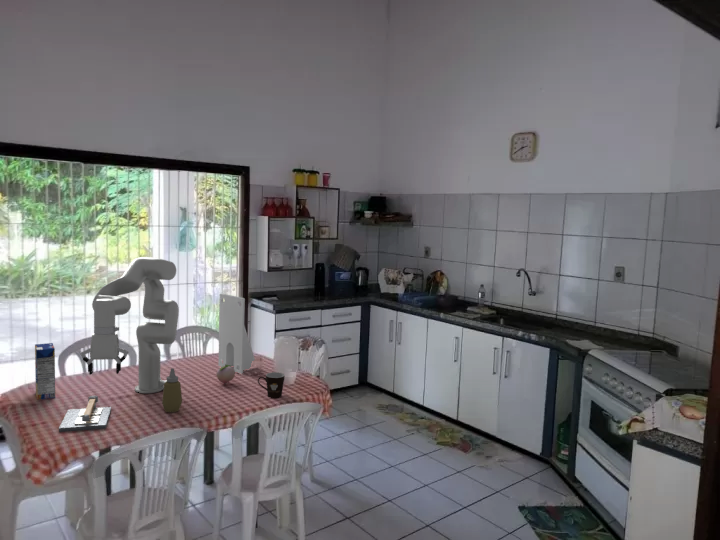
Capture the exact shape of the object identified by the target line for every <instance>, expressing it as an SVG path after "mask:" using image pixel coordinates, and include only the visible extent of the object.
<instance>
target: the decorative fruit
mask: <svg viewBox="0 0 720 540" xmlns="http://www.w3.org/2000/svg"><path fill="white" fill-rule="evenodd" d="M235 375H236V373H235V371H234V367H231V366H230V365H226V364H225V366H223V367H221V368H220V367H219V368H218V369H217V371H216V378H217V379H218V381H219V382H220V383H221V384H224V385H226V384H227V383H230V382H231V381H232V380H234V378H235ZM225 383H226V384H225Z"/></svg>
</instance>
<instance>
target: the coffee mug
mask: <svg viewBox="0 0 720 540" xmlns="http://www.w3.org/2000/svg"><path fill="white" fill-rule="evenodd" d="M285 375H286V374H285V373H282V372H277V371H276V372H275V371H273V372H268V373H266V374H265V377H264V376H261V377H258V378H257V383H258V385H259V386H260V387H262V388H263V389H264V390H266V391H267V392H266V393H267V397H268V398H269V397H271V398H270V399H280V398H282V394H283V388H284V381H285ZM260 379H263V380H264V381H265V382H266V387H265V386H263V385H262V384H261V383H260ZM279 397H280V398H279Z"/></svg>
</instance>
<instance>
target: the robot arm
mask: <svg viewBox="0 0 720 540" xmlns="http://www.w3.org/2000/svg"><path fill="white" fill-rule="evenodd" d="M176 274H177V267H176V264H175V263H174V262H173V261H170V260H166V259H163V258H157V257H142V256H141V257H137V258H134V259H133V260H132V261H131V262H130V265H129V266H128V267H127V269H126V270H125V271H124V273H123V274H122V276H121V277H118V278H116V279H114V280H112V281H110V282H108V283H107V284H105V285H103V286H102V287H101V288H100V289H99V290H98V291H97V293H96V295H95V296H94V297H93V300H92V304H91V306H92V311H93V333H92V335H91V339H90V346H89V348H87V349H85V350H83V351H81V352H80V353H79V355H80V357H81V358H82V361H83V362H85V363H86V364H87V372H88V373H89V375H92V374H93V372H94V360H95V361H97V360H99V361H100V360H101V361H102V360H105V361H106V360H114V361H116V364H115V365H116V366H115V368H116V369H115V370H116V371H115V373H116V374H117V375H118V374H119V372H121V371H122V362H123V361H124V360H126V358H127V356H128V355H129V351H128V350H126V349H123V348H121V347H120V343H119V334H118V331H120V327H118V326H116V316H123V315H125V314H127V313H128V312H129V311H130V310H131V306H132V302H131V299H129V298H128V297H126V296H123V295H126V294H131V293H134V292H136V291H138V290H139V289H140V287H142V284H143V285H144V297H143V298H144V299H143V305H142V315H143V318H145V319H148V320H154V322H153V321H150V322H149V321H146V322H142V323H140V324H139V325H138V326H137V328H136V331H135V335H136V340H137V348H138V349H137V350H138V385H136V386H134V391H135V392H136V393H138V392H139V394H154V393H158V392H162V391H163V390H164V383H165V382H167V379H166V380H163V379H162V377H161V349H160V347H159V345H171V344H173V343H174V342H175V341H176V337H177V331H178V323H179V322H178V321H179V315H180V314H179V313H180V309H179V308H180V307H179V305H178V304H179V303H177V301H175V300H172V299H165V287H164V284H163V282H162V280H163V281H171V280H173V279H175V277H176ZM155 321H164V322H155ZM158 344H159V345H158ZM120 353H121V354H123V355H122V357H120V356H119V355H120ZM87 354H89V358H88V357H87V356H86V355H87Z"/></svg>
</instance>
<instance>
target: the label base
mask: <svg viewBox="0 0 720 540" xmlns="http://www.w3.org/2000/svg"><path fill="white" fill-rule="evenodd" d="M85 410H86V407H85V408H72V409H67V411H66V413H65V415H64V417H63V420H62V421H61V423H60V425H59V427H58V433H65V432H76V431H77V432H78V431H89V430H90V431H91V430H103V429H104V430H105V429H107V425H108V423H109V419H110V417H111V416H110V415H111V412H112V406H104V407H97V402H96V403H95V405H94V407H93V410H92V413H91V415H90V418H89V421H85V422H84V421H82V416H83V415H84V412H85Z"/></svg>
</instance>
